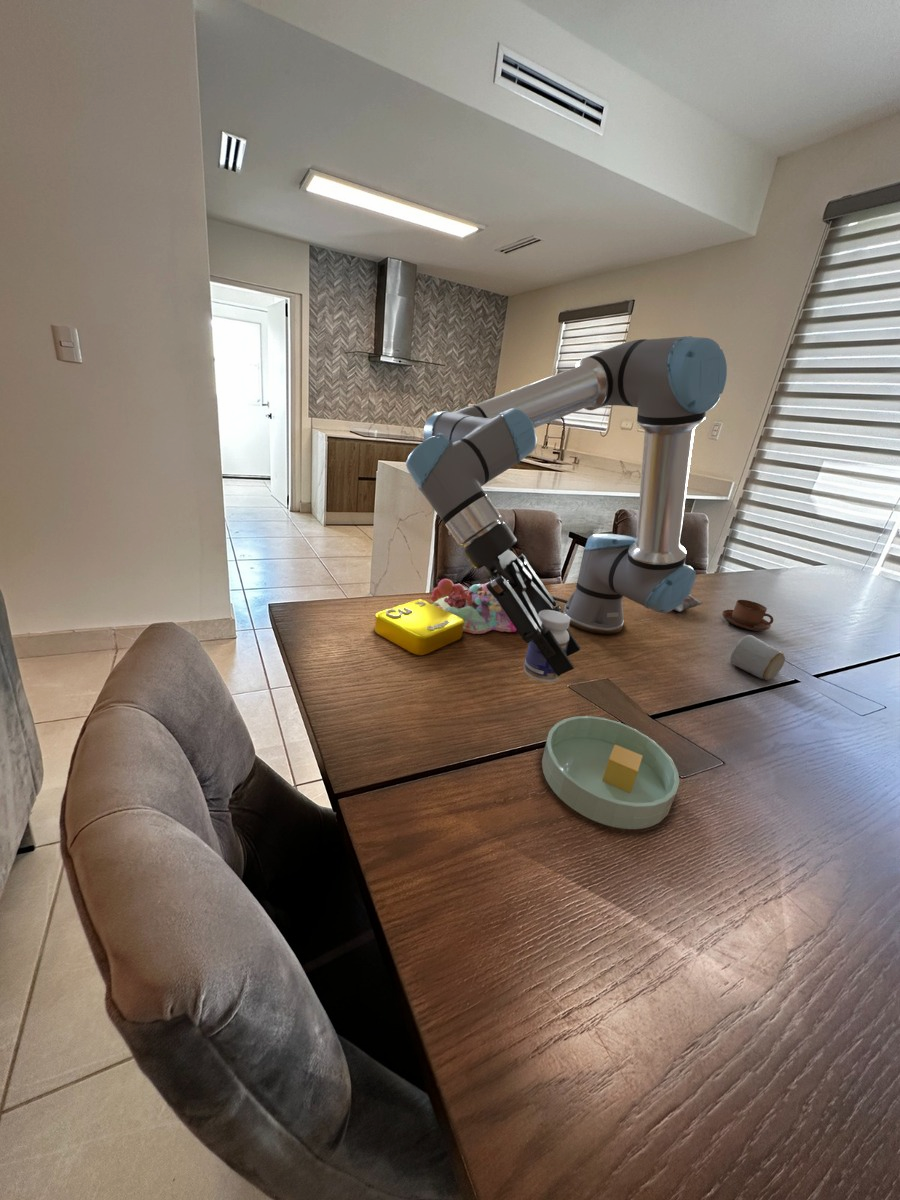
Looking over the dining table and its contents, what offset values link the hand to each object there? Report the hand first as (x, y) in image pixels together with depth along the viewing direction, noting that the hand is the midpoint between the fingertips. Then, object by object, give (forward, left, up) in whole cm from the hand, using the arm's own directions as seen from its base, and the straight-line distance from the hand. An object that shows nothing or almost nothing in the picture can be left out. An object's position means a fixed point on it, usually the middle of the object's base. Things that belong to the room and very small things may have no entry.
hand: (569, 661), depth 71 cm
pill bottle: (-3, -2, -4) cm, 5 cm away
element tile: (-40, +2, -15) cm, 42 cm away
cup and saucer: (-2, +88, -15) cm, 90 cm away
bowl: (+10, -1, -14) cm, 18 cm away
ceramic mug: (+10, +60, -15) cm, 63 cm away
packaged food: (-18, +80, -15) cm, 84 cm away
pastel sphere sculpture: (-41, +23, -15) cm, 49 cm away
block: (+12, +1, -14) cm, 18 cm away
